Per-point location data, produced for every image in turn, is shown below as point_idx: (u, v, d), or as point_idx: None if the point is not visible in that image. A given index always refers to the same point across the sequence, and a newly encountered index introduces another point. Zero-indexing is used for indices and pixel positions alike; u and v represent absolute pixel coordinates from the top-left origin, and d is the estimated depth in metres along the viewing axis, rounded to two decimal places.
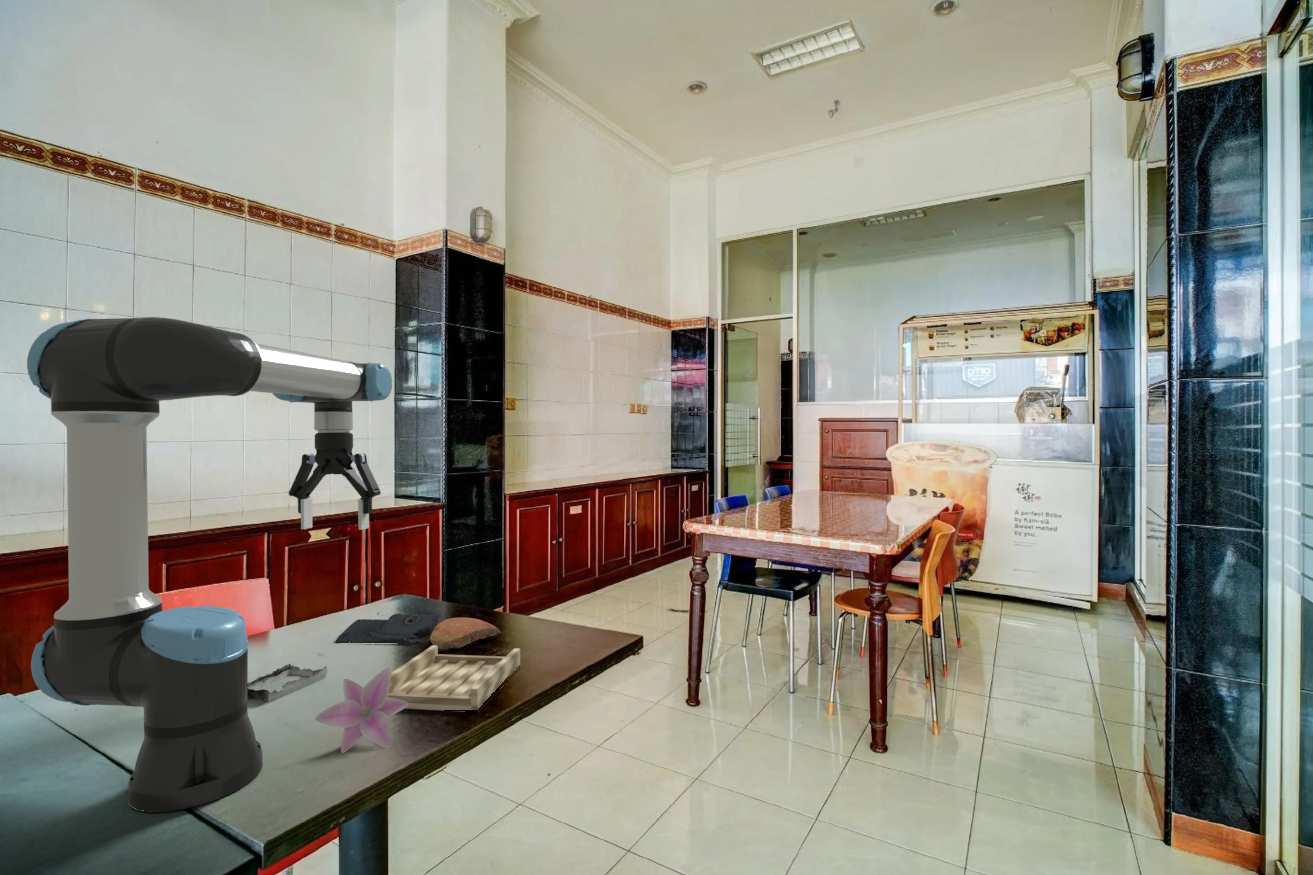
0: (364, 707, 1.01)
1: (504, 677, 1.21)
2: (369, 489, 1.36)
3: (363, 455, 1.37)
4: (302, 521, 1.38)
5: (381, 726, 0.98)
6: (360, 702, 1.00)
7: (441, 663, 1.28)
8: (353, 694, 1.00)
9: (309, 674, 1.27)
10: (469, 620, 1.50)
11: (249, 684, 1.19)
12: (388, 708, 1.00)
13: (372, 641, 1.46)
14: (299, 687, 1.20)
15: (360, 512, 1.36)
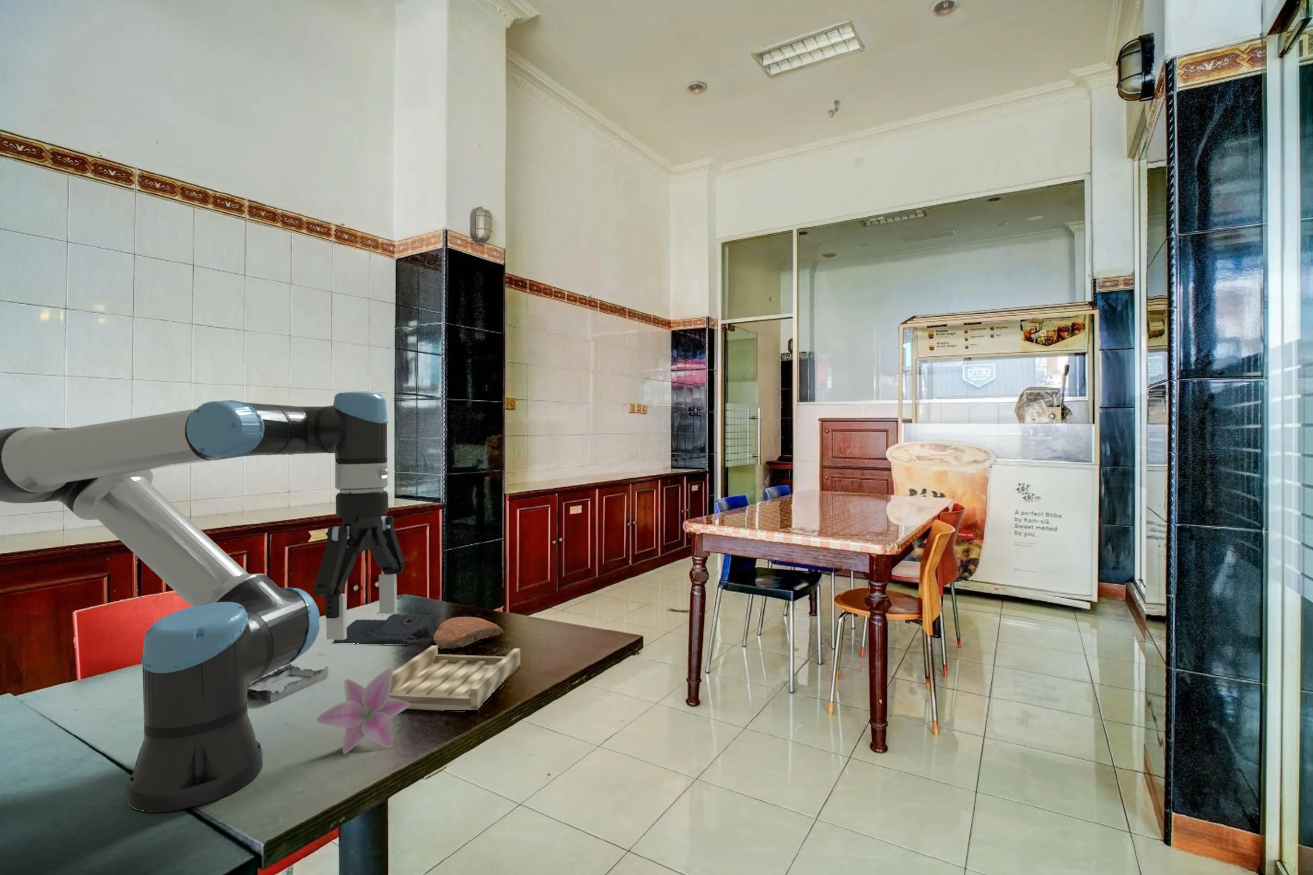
0: (365, 708, 1.00)
1: (504, 677, 1.21)
2: None
3: (336, 530, 0.93)
4: None
5: (383, 727, 0.98)
6: (361, 702, 1.00)
7: (441, 663, 1.28)
8: (355, 695, 1.00)
9: (310, 674, 1.26)
10: (472, 619, 1.50)
11: (250, 684, 1.18)
12: (390, 708, 1.00)
13: (370, 641, 1.46)
14: (301, 687, 1.20)
15: None
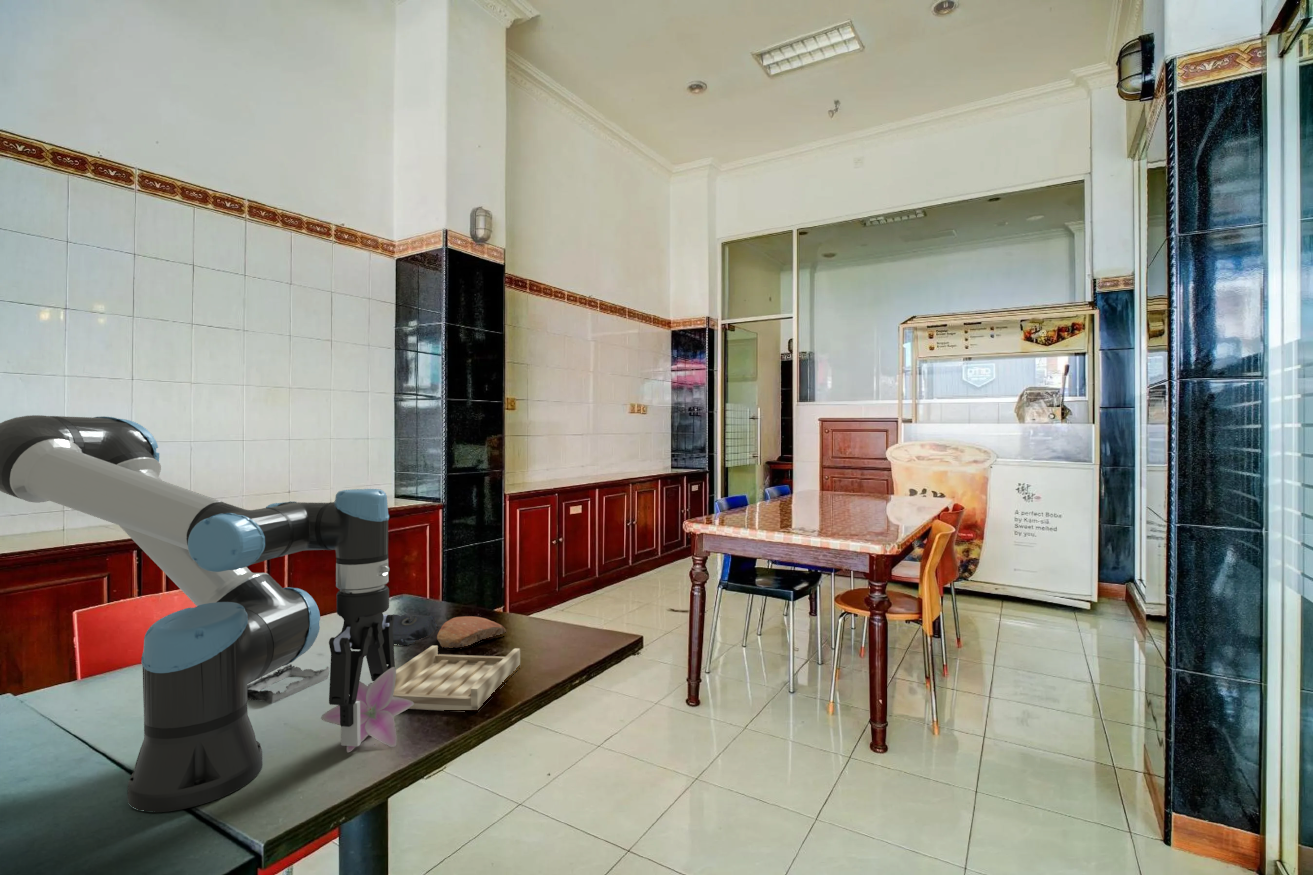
0: (369, 706, 1.01)
1: (504, 677, 1.21)
2: None
3: (338, 643, 0.93)
4: None
5: (387, 726, 0.98)
6: (365, 701, 1.01)
7: (441, 663, 1.28)
8: (359, 694, 1.00)
9: (311, 675, 1.26)
10: (476, 619, 1.51)
11: (251, 685, 1.18)
12: (394, 707, 1.01)
13: None
14: (302, 688, 1.20)
15: None
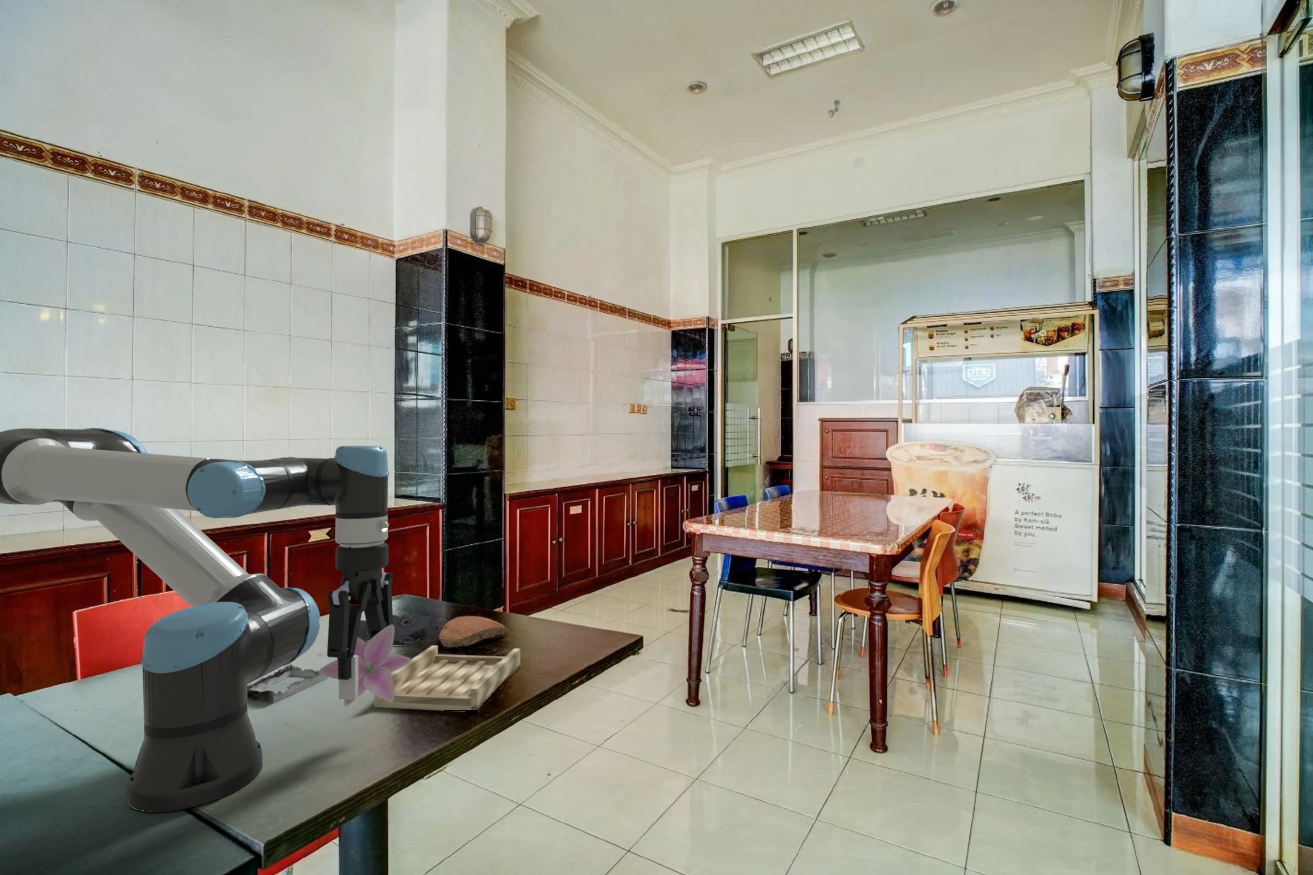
0: (367, 662, 1.01)
1: (504, 677, 1.21)
2: None
3: (336, 595, 0.93)
4: None
5: (385, 681, 0.98)
6: (363, 657, 1.01)
7: (441, 663, 1.28)
8: (357, 650, 1.00)
9: (311, 675, 1.26)
10: (478, 619, 1.51)
11: (252, 685, 1.18)
12: (391, 663, 1.01)
13: None
14: (303, 688, 1.20)
15: None
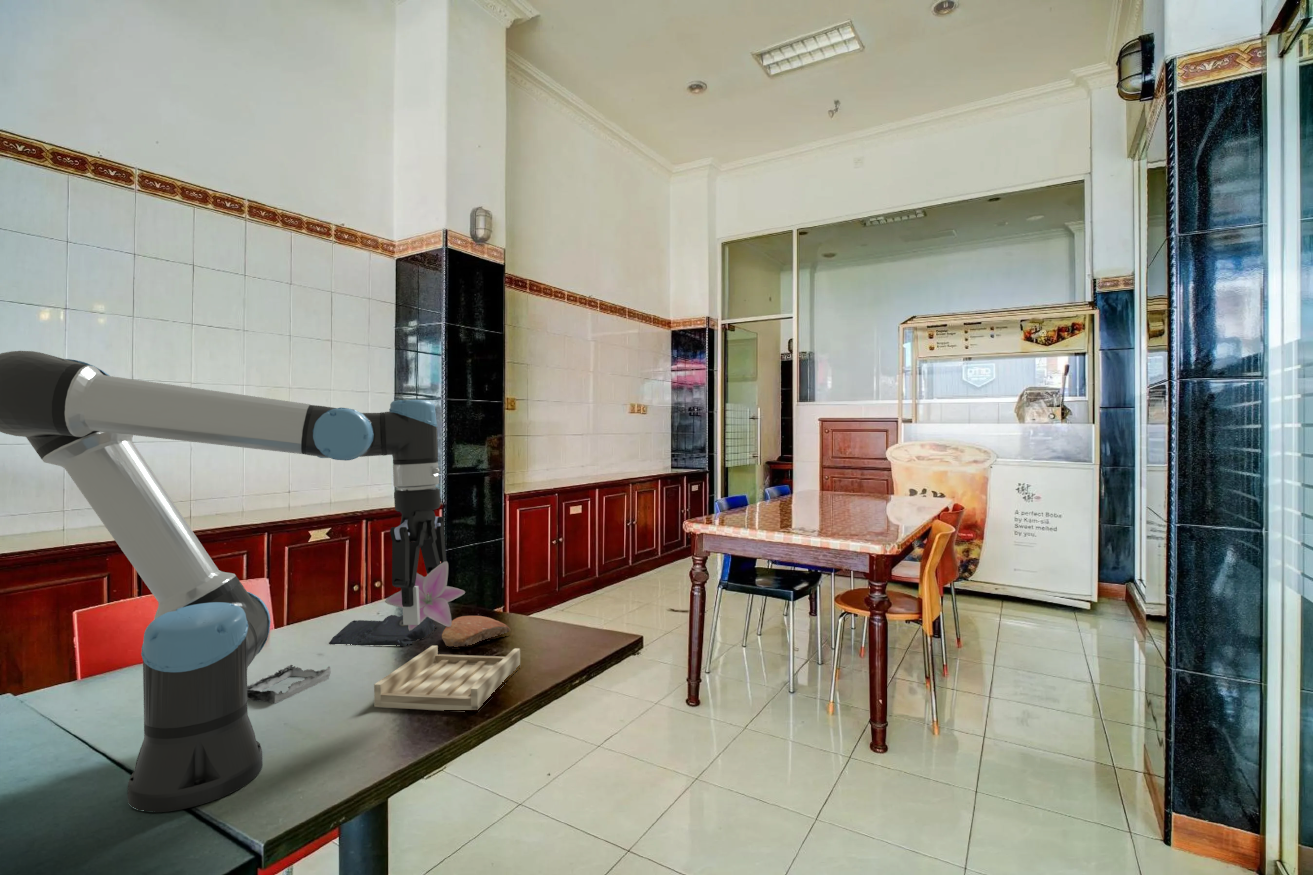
0: (426, 595, 1.13)
1: (504, 677, 1.21)
2: None
3: (398, 531, 1.04)
4: None
5: (442, 609, 1.10)
6: (422, 590, 1.12)
7: (441, 663, 1.28)
8: (417, 583, 1.12)
9: (312, 675, 1.26)
10: (480, 618, 1.51)
11: (253, 686, 1.18)
12: (447, 595, 1.12)
13: (366, 642, 1.45)
14: (304, 688, 1.19)
15: None
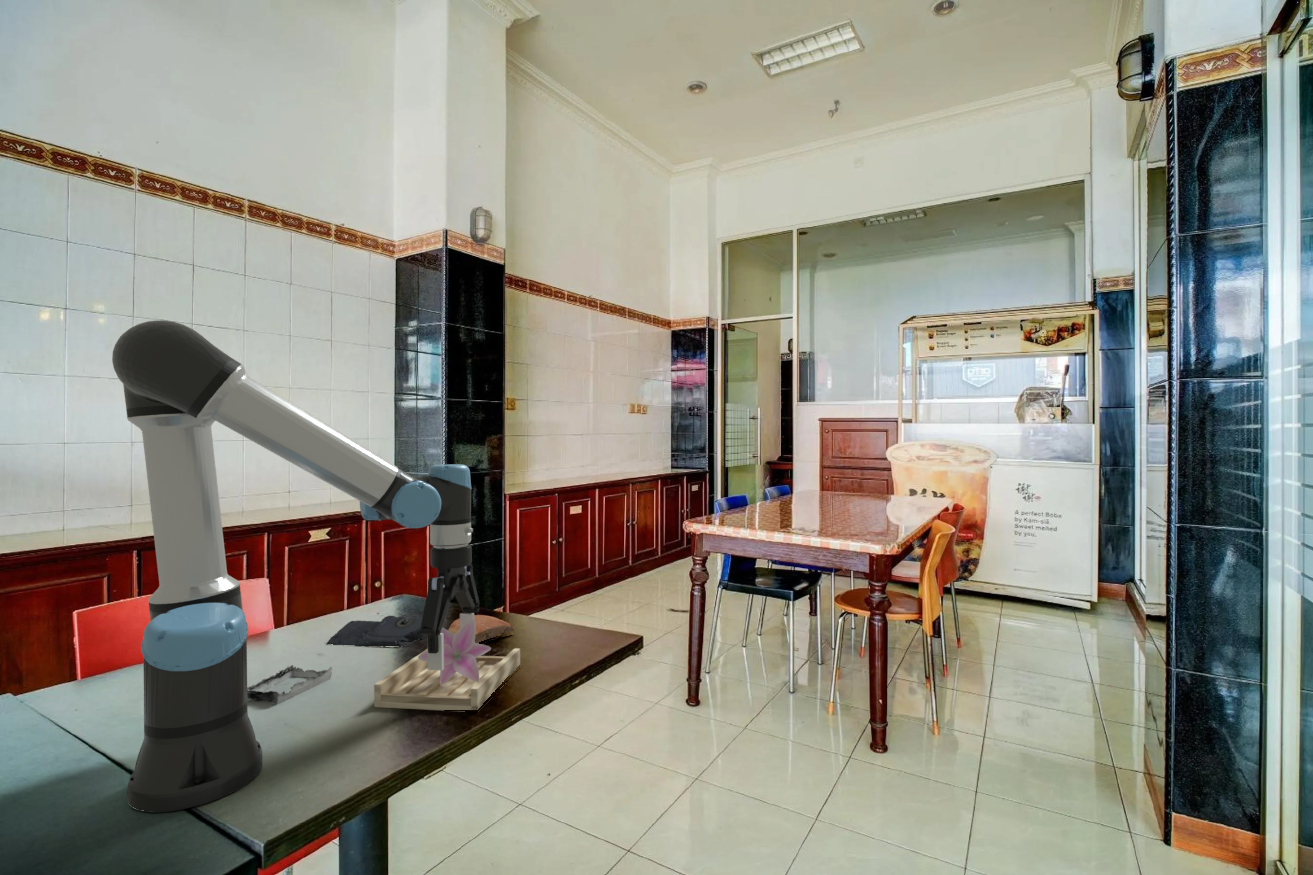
0: (455, 650, 1.22)
1: (504, 677, 1.21)
2: None
3: (435, 581, 1.14)
4: None
5: (471, 665, 1.20)
6: (452, 646, 1.22)
7: None
8: (447, 640, 1.22)
9: (313, 675, 1.26)
10: (484, 618, 1.52)
11: (254, 686, 1.17)
12: (475, 651, 1.22)
13: (363, 643, 1.45)
14: (306, 688, 1.19)
15: None
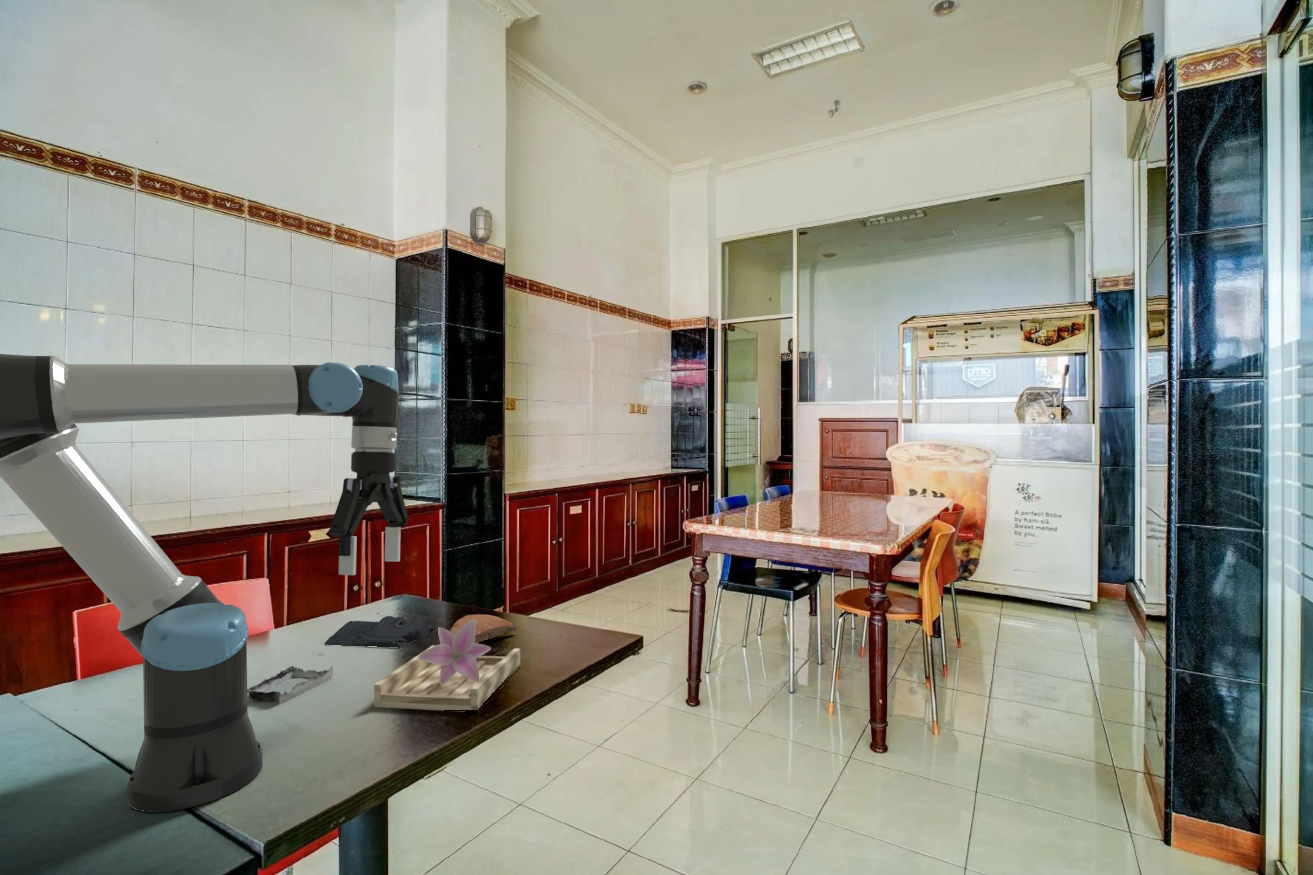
0: (455, 650, 1.22)
1: (504, 677, 1.21)
2: None
3: (351, 481, 1.08)
4: None
5: (471, 665, 1.20)
6: (452, 646, 1.22)
7: None
8: (447, 640, 1.22)
9: (314, 675, 1.26)
10: (487, 617, 1.52)
11: (256, 687, 1.17)
12: (475, 651, 1.22)
13: (361, 643, 1.45)
14: (308, 688, 1.19)
15: None
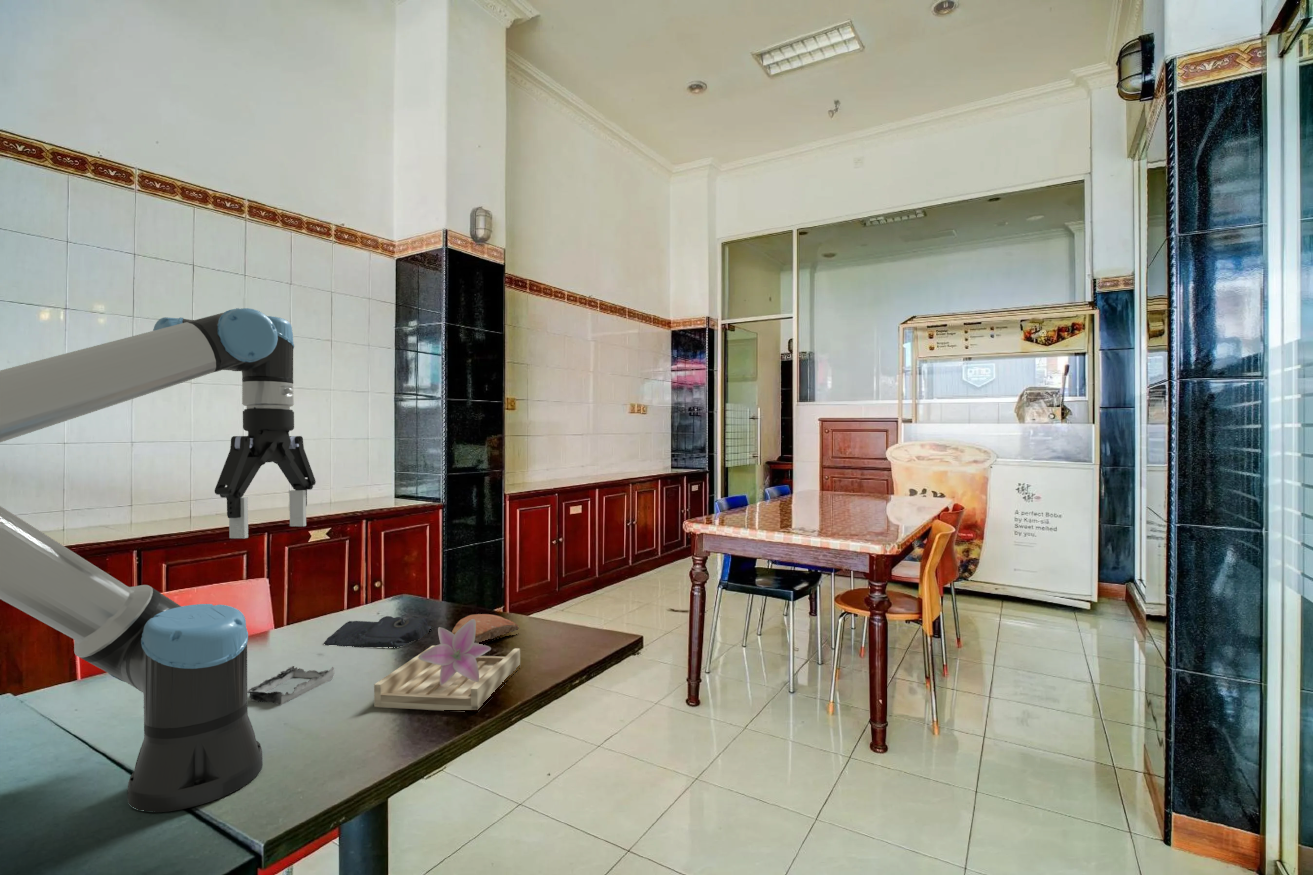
0: (455, 650, 1.22)
1: (504, 677, 1.21)
2: None
3: (239, 438, 1.01)
4: None
5: (471, 665, 1.20)
6: (452, 646, 1.22)
7: None
8: (447, 640, 1.22)
9: (315, 676, 1.26)
10: (490, 617, 1.52)
11: (257, 687, 1.17)
12: (475, 651, 1.22)
13: (359, 644, 1.44)
14: (309, 688, 1.19)
15: None
